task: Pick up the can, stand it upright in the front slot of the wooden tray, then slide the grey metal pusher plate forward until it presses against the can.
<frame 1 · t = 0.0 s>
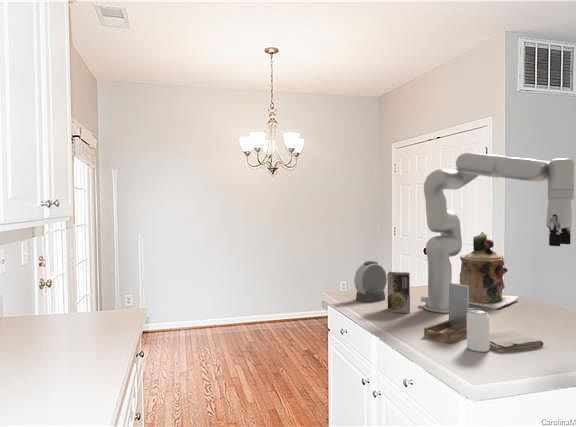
hand: (559, 245, 142), 31 cm above the worktop, tool pointing down, fingers open, 9 cm apart
washcloth: (506, 346, 134), on the worktop
can: (478, 349, 130), on the worktop
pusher: (458, 307, 147), point 9 cm above the worktop, slide at 0.0 cm
cookie jar: (482, 301, 193), on the worktop
wooden tray: (450, 335, 143), on the worktop
alarm clock: (370, 299, 197), on the worktop
coffee box: (398, 311, 176), on the worktop
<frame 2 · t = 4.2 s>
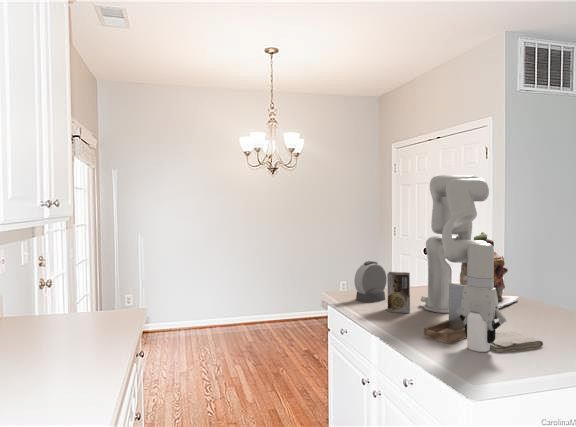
hand: (479, 338, 130), 3 cm above the worktop, tool pointing down, fingers closed on can, 6 cm apart
can: (478, 349, 129), on the worktop, touching gripper
everything else where it was.
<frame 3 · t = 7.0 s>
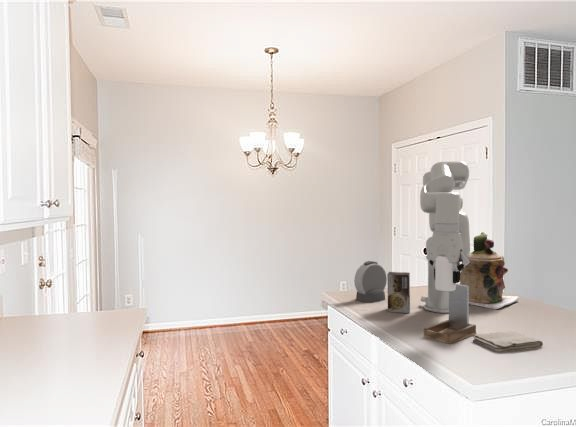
hand: (446, 280, 141), 19 cm above the worktop, tool pointing down, fingers closed on can, 6 cm apart
can: (445, 290, 141), point 16 cm above the worktop, touching gripper
everything else where it was.
when the fingers open (5 cm above the worktop, at t = 10.1 s): can stays where it is, resting on wooden tray.
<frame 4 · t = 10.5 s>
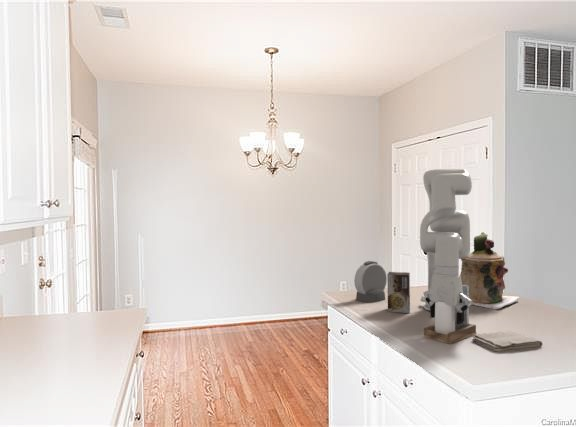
hand: (446, 320, 142), 6 cm above the worktop, tool pointing down, fingers open, 9 cm apart
can: (444, 335, 142), resting on wooden tray
everything else where it was.
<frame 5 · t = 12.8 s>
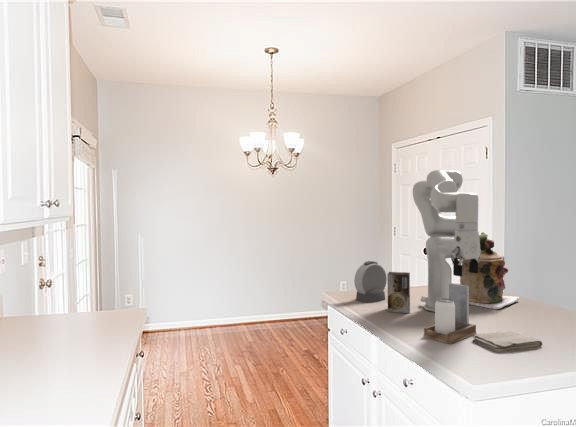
hand: (465, 274, 150), 20 cm above the worktop, tool pointing down, fingers open, 9 cm apart
nothing on the worktop moved.
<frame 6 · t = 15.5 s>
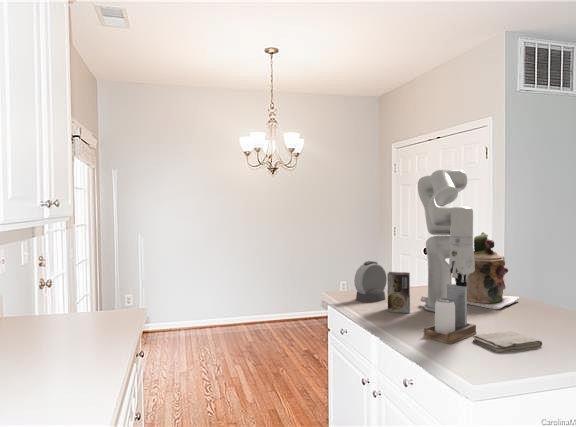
hand: (461, 292, 147), 14 cm above the worktop, tool pointing down, fingers closed
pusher: (456, 307, 146), point 9 cm above the worktop, slide at 1.4 cm, touching gripper
everything else where it was.
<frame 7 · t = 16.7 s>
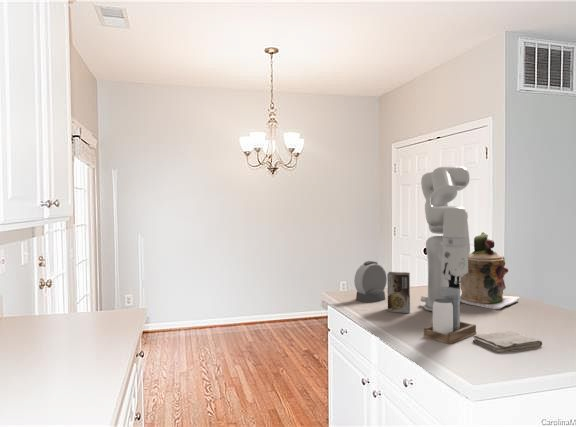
hand: (454, 294, 144), 14 cm above the worktop, tool pointing down, fingers closed
can: (442, 336, 141), resting on wooden tray, touching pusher
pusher: (449, 310, 143), point 9 cm above the worktop, slide at 6.0 cm, touching can, gripper
everything else where it was.
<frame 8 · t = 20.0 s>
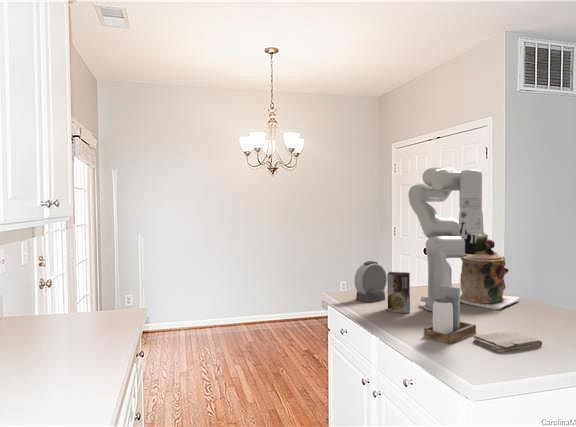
hand: (470, 254, 151), 27 cm above the worktop, tool pointing down, fingers closed
can: (442, 336, 141), resting on wooden tray
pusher: (449, 310, 143), point 9 cm above the worktop, slide at 6.0 cm
at the end: can 0.4 cm from the target spot on the wooden tray, point 0.4 cm above the wooden tray's base; can tilted 0°; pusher slide at 6.0 cm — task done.
